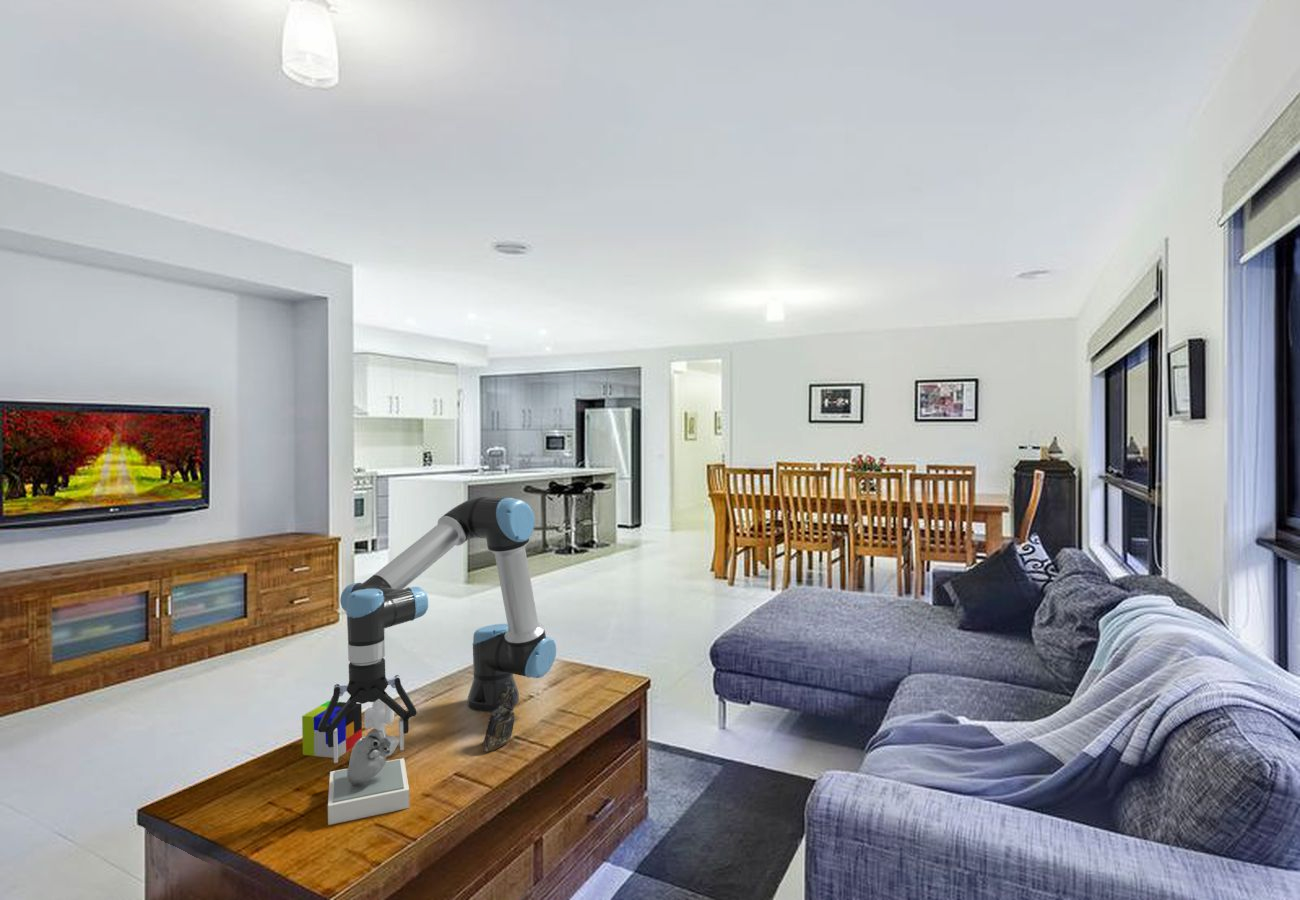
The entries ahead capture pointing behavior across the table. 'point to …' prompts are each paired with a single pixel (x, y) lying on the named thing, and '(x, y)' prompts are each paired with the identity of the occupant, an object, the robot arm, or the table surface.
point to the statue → (501, 719)
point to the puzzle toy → (318, 741)
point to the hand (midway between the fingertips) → (369, 754)
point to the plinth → (368, 793)
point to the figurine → (381, 721)
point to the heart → (368, 757)
